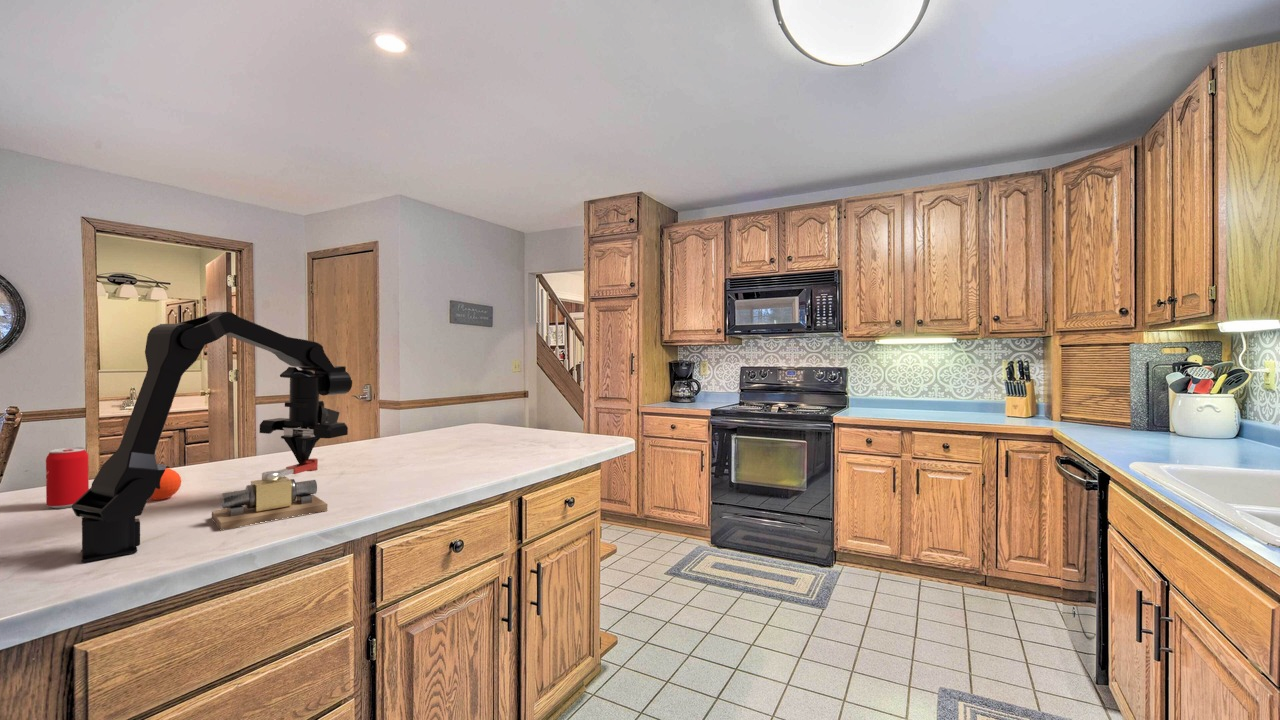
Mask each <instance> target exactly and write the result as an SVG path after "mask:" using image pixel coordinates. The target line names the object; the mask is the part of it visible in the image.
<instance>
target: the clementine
mask: <svg viewBox="0 0 1280 720" xmlns="http://www.w3.org/2000/svg"><path fill="white" fill-rule="evenodd" d="M181 485H182V478H181V475H180V474H179V472H177V471H176V470H174V469H172V468H169V467H166V469H165V472H164V473H163V475H162V477H161V480H160V489H155V491H154V493H153V495H152V496H151V498H150V499H151V500H155V501H159V500H160V499H161V500H166V499H167V498H170V497H172V496H174V495H175V494H176V493H177V492H178V491H179V490H180V488H181ZM165 498H166V499H165ZM150 499H149V500H150Z"/></svg>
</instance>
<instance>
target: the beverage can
mask: <svg viewBox="0 0 1280 720" xmlns="http://www.w3.org/2000/svg"><path fill="white" fill-rule="evenodd" d="M45 483H46V484H45V488H46V489H45V490H46V491H45V492H46V498H45V500H46V502H45V503H46V506H47V507H48V508H51V509H68V507H69V508H72V507H71V506H72V505H73V504H74V503H75V502H76V501H77V500H78V499H79V498H80V497H81V496H82V495H84V494H85V493H86V492H87V491H88V490H89V489H90V487H89V485H90V484H89V483H90V481H89V454H88V451H86V448H85V447H82V446H81V447H80V446H79V447H78V446H77V447H73V446H72V447H64V448H62V447H61V448H56V449H51V450H49V453H48V455H47V456H46V458H45Z"/></svg>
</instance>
